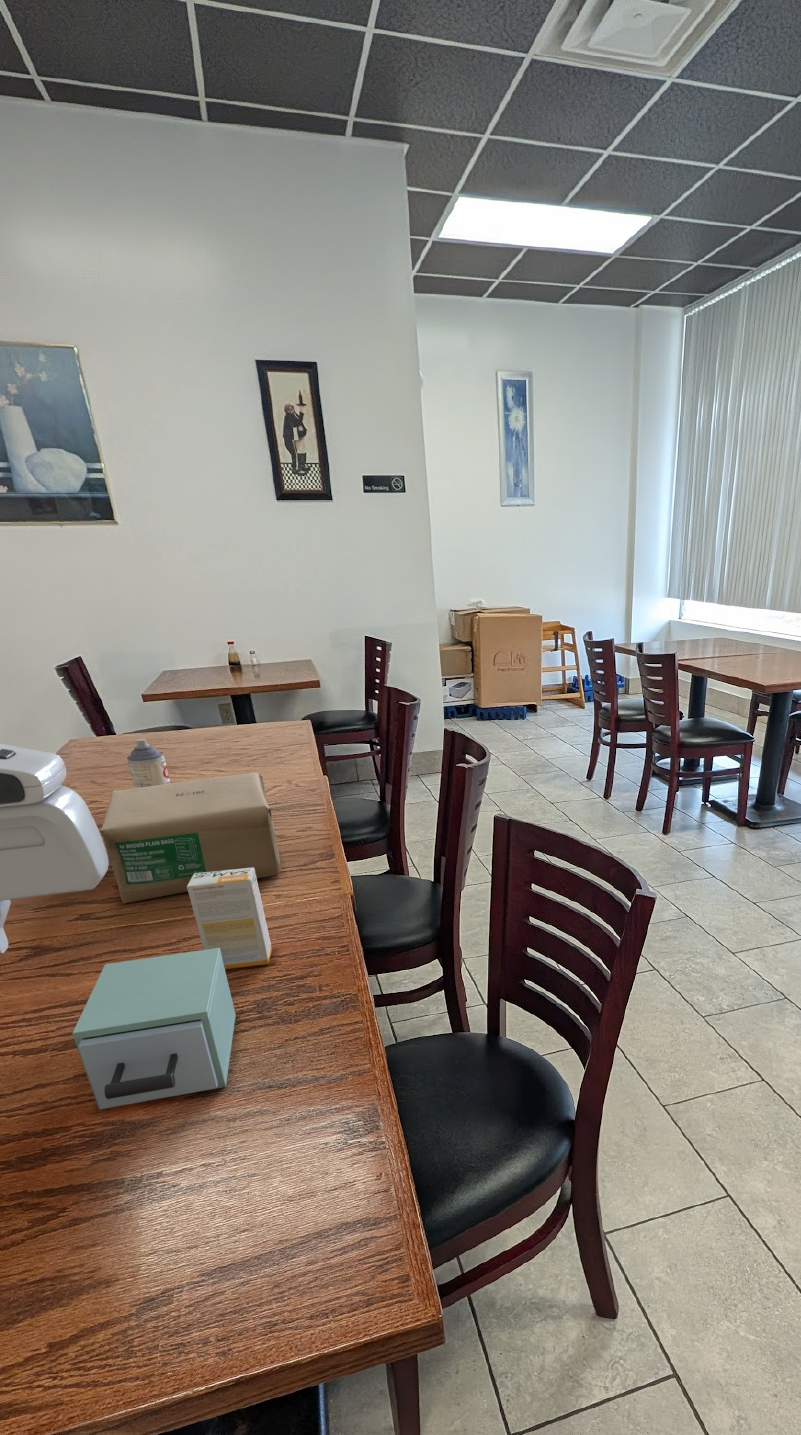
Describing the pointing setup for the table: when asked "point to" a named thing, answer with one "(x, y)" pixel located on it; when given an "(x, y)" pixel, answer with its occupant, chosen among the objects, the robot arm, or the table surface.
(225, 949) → the supplement box
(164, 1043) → the drawer
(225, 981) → the mint green drawer box
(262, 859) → the paper package
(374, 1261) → the table surface
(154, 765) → the aerosol can
